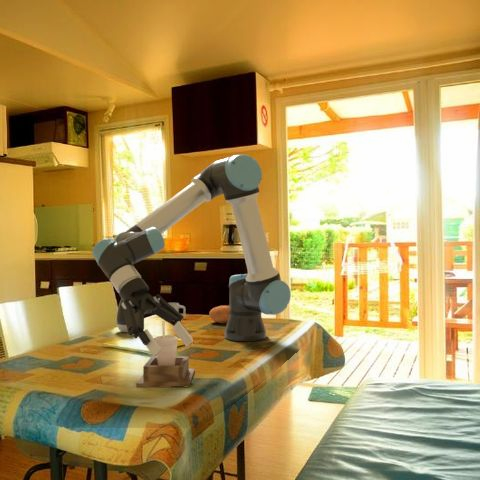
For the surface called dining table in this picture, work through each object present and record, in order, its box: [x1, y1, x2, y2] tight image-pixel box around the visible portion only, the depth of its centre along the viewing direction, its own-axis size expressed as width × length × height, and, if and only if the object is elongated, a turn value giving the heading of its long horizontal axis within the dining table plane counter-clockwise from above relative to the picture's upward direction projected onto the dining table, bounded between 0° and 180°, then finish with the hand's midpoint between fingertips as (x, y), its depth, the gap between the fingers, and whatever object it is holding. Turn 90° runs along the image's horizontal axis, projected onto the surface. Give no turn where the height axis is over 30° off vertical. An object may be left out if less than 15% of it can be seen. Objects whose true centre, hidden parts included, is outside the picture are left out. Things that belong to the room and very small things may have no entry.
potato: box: [208, 305, 230, 324], centre depth 200 cm, size 9×11×8 cm
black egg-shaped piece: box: [115, 298, 134, 334], centre depth 183 cm, size 10×10×15 cm
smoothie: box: [153, 320, 179, 366], centre depth 122 cm, size 6×6×14 cm
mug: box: [167, 302, 187, 318], centre depth 212 cm, size 10×7×7 cm, turn 81°
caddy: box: [135, 355, 196, 388], centre depth 122 cm, size 13×13×4 cm
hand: (174, 348), depth 121 cm, fingers open, 12 cm apart
